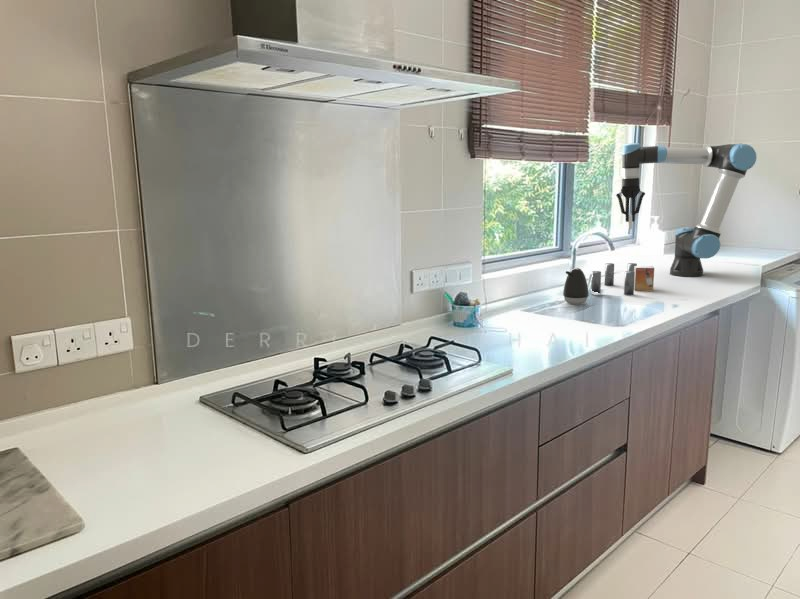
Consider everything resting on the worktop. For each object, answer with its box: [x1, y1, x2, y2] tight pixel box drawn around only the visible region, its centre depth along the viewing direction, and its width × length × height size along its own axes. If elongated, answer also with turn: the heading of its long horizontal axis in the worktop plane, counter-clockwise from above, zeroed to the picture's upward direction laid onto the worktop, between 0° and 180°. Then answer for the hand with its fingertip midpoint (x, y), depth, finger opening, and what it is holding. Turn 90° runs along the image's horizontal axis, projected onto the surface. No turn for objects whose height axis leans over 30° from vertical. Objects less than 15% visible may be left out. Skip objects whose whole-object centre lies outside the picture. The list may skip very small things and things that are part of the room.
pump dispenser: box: [562, 267, 590, 306], centre depth 265 cm, size 10×10×15 cm
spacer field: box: [590, 262, 638, 296], centre depth 289 cm, size 22×24×10 cm
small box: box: [634, 265, 655, 292], centre depth 287 cm, size 8×6×10 cm
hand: (629, 228), depth 299 cm, fingers closed
